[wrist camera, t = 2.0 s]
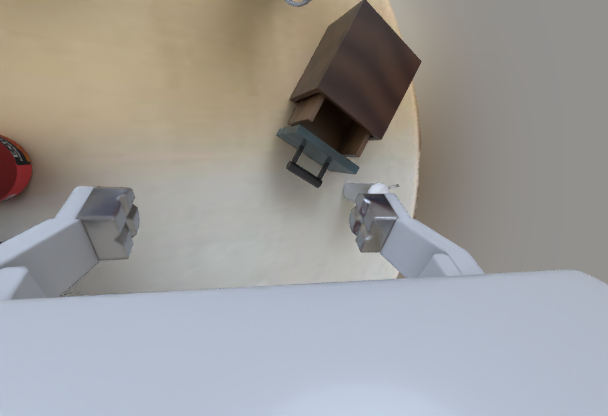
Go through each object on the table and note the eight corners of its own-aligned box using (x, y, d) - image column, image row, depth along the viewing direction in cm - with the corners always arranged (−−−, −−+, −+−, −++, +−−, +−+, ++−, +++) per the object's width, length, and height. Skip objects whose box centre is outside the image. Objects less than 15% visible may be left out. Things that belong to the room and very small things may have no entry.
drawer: (318, 192, 50) (343, 199, 43) (263, 158, 45) (280, 160, 38) (362, 108, 51) (393, 101, 44) (312, 66, 46) (339, 50, 39)
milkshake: (367, 188, 56) (405, 195, 47) (348, 208, 55) (384, 219, 46) (354, 171, 54) (392, 174, 45) (335, 191, 53) (369, 198, 44)
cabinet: (345, 142, 52) (381, 140, 43) (289, 99, 46) (317, 87, 38) (380, 76, 53) (421, 61, 44) (328, 26, 47) (364, -2, 38)
